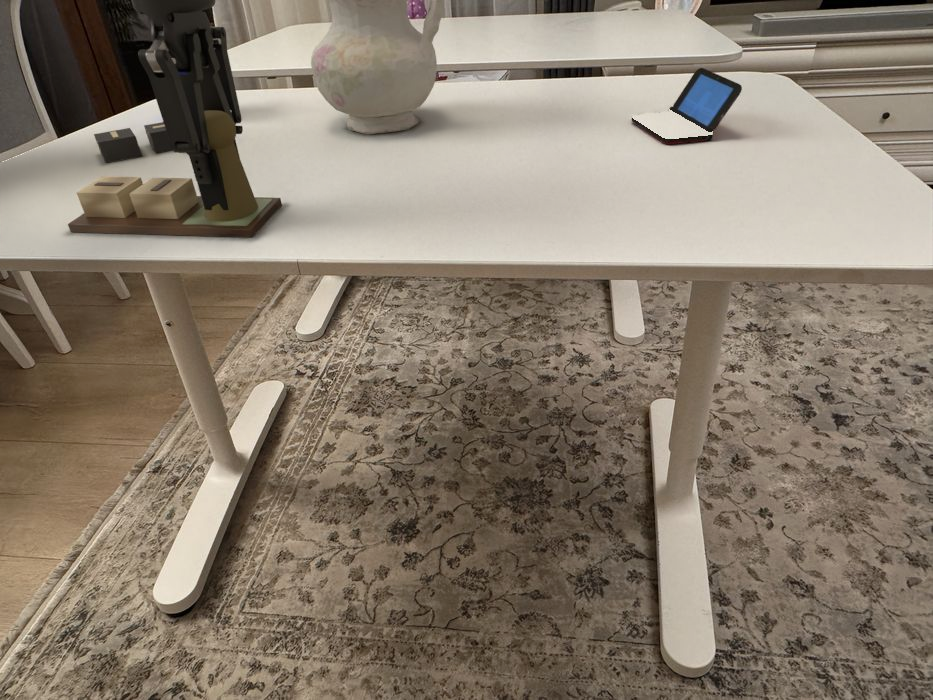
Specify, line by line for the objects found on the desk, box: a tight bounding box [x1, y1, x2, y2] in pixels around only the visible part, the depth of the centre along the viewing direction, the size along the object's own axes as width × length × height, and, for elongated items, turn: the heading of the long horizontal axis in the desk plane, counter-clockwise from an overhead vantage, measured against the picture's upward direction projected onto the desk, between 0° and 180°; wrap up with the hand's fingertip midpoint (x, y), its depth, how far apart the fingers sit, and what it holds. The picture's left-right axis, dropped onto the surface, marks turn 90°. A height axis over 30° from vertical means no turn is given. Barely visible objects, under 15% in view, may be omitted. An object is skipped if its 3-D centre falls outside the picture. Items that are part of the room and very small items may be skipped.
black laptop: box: [631, 67, 743, 145], centre depth 95 cm, size 12×11×7 cm
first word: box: [93, 121, 173, 164], centre depth 97 cm, size 5×12×3 cm, turn 122°
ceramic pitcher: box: [310, 0, 445, 136], centre depth 98 cm, size 22×20×25 cm
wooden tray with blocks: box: [67, 176, 283, 238], centre depth 75 cm, size 22×9×4 cm, turn 82°
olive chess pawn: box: [202, 110, 258, 222], centre depth 71 cm, size 6×6×11 cm
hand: (226, 200), depth 74 cm, fingers closed on olive chess pawn, 4 cm apart
